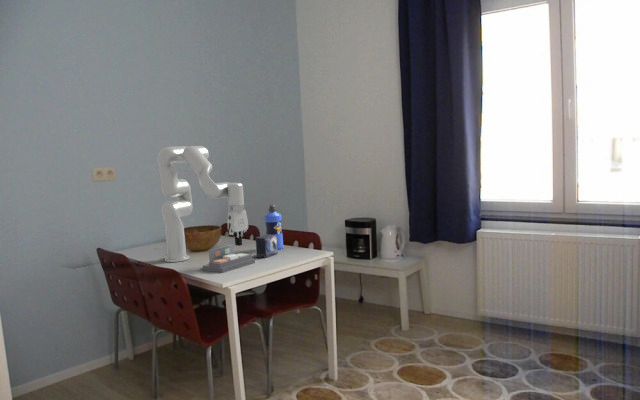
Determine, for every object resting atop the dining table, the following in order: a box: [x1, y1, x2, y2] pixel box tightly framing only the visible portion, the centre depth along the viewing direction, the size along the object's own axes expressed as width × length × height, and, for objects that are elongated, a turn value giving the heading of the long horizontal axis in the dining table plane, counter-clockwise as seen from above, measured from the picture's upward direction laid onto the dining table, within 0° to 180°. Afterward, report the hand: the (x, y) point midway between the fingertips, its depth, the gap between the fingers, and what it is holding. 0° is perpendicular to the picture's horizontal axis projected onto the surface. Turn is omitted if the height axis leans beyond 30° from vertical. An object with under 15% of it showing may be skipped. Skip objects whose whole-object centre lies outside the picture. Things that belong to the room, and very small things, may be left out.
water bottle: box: [264, 203, 284, 251], centre depth 279 cm, size 9×9×25 cm
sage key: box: [236, 252, 248, 257], centre depth 248 cm, size 5×5×2 cm
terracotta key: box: [213, 259, 228, 263], centre depth 238 cm, size 5×5×2 cm
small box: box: [255, 234, 279, 259], centre depth 263 cm, size 11×6×10 cm, turn 148°
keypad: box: [202, 244, 256, 274], centre depth 243 cm, size 14×21×9 cm, turn 143°
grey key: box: [223, 253, 238, 260], centre depth 243 cm, size 5×5×2 cm
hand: (238, 245), depth 248 cm, fingers closed
